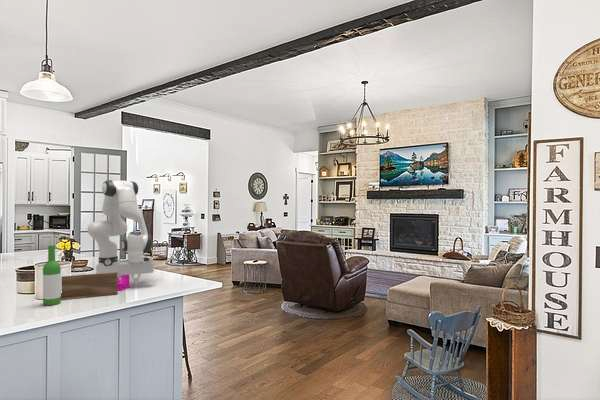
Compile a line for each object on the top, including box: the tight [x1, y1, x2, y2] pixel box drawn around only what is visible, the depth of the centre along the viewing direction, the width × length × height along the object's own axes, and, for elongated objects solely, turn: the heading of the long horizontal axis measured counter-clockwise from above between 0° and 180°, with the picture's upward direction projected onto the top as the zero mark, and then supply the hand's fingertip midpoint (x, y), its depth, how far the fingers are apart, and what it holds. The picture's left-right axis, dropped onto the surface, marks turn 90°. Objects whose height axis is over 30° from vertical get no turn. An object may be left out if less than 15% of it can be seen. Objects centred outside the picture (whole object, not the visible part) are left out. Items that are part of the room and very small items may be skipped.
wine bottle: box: [42, 244, 62, 306], centre depth 194 cm, size 8×8×30 cm
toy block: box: [117, 275, 131, 292], centre depth 228 cm, size 15×6×8 cm, turn 178°
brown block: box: [61, 272, 119, 301], centre depth 212 cm, size 13×28×12 cm, turn 114°
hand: (135, 281), depth 229 cm, fingers closed
